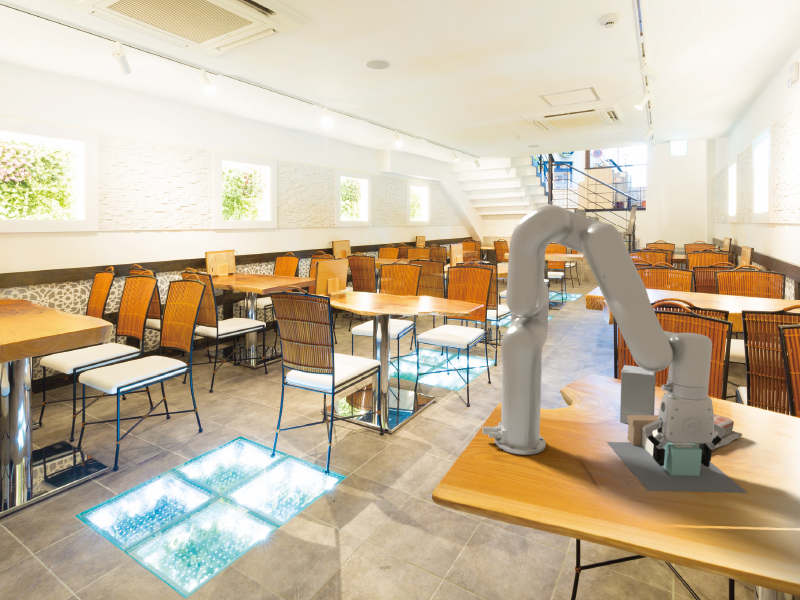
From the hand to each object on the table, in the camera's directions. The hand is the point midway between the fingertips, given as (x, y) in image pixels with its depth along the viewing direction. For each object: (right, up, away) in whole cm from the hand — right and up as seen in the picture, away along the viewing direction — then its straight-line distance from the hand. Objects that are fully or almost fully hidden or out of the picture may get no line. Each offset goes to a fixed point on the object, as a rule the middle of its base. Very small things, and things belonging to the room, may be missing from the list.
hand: (681, 463), depth 103 cm
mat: (-1, -2, +3) cm, 3 cm away
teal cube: (0, -2, +1) cm, 2 cm away
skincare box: (+3, +2, +26) cm, 27 cm away
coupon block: (0, 0, +10) cm, 10 cm away
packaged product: (+15, 0, +16) cm, 22 cm away
